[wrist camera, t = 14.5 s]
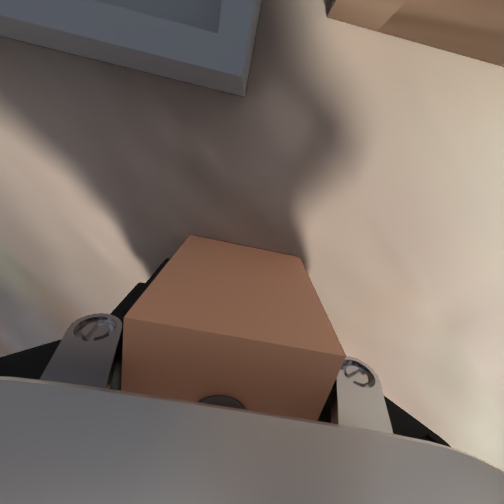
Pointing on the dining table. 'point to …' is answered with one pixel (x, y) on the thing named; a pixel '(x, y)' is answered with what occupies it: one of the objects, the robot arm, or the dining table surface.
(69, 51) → the grey square tray
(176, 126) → the dining table surface
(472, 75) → the dining table surface
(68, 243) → the dining table surface
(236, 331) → the orange block with knob
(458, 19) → the walnut bore block
